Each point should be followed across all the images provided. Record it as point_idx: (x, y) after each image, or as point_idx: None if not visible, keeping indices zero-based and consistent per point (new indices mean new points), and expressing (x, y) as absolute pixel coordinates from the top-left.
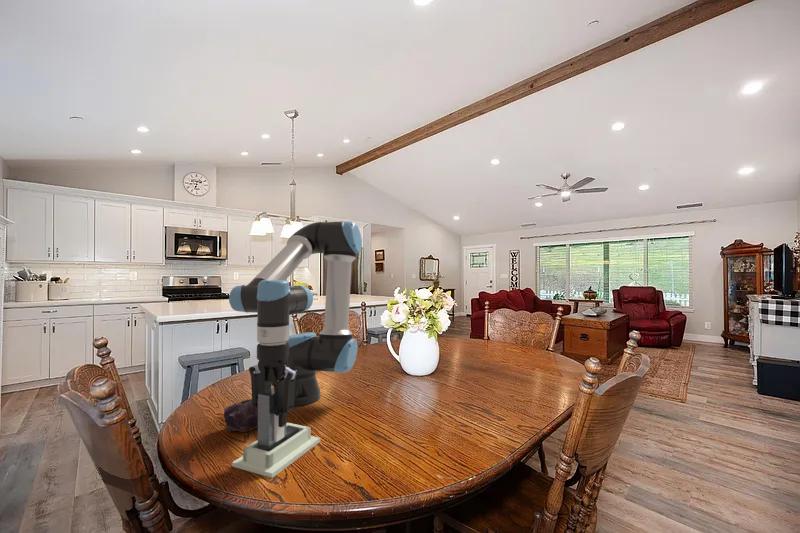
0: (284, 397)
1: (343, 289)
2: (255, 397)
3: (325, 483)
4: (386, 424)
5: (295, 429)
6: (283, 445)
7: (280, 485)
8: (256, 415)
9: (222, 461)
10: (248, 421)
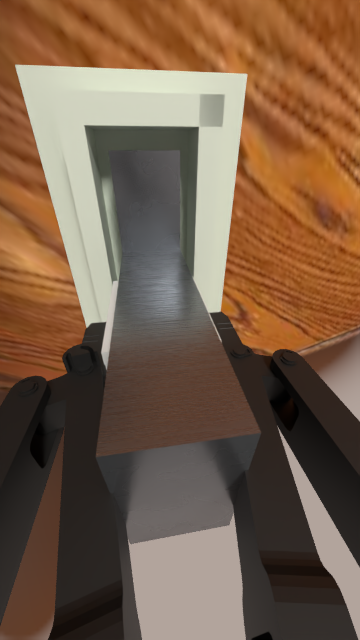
0: (310, 471)
1: None
2: (48, 473)
3: (334, 291)
4: None
5: (177, 179)
6: (207, 292)
7: (246, 333)
8: None
9: (46, 333)
10: None
